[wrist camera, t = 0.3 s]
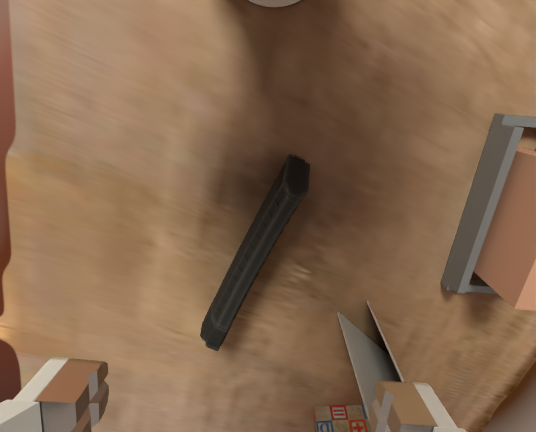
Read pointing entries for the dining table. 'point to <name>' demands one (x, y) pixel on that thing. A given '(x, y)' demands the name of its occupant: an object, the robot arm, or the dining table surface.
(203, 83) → the dining table surface
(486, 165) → the rack
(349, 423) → the stack of blocks
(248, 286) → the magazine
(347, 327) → the brochure
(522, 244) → the salmon brown rectangular block
